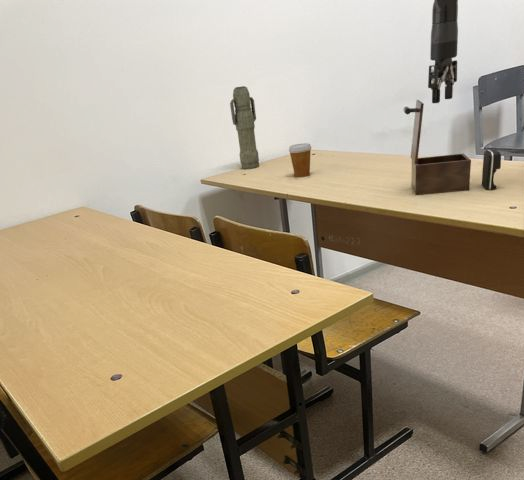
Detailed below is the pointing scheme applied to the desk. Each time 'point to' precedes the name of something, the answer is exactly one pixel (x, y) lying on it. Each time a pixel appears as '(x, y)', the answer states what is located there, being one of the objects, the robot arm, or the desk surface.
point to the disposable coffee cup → (300, 159)
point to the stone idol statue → (245, 126)
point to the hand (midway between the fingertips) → (442, 101)
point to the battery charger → (490, 168)
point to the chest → (441, 174)
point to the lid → (416, 128)
